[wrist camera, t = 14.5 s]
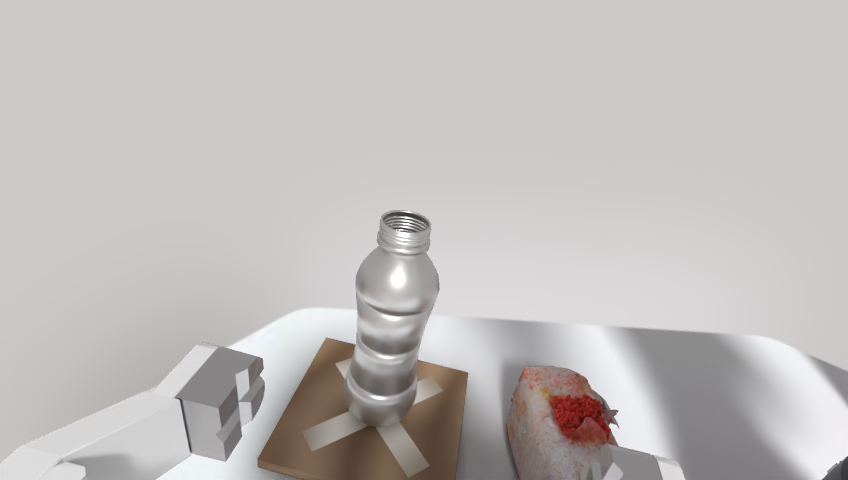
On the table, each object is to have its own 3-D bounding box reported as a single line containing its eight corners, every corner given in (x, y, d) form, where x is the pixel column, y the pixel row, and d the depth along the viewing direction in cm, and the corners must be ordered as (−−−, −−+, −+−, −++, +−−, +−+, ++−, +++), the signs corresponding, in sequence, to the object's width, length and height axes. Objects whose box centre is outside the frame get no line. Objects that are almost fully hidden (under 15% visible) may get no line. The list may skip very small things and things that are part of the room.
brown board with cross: (466, 379, 48) (468, 372, 47) (448, 519, 35) (451, 512, 34) (325, 344, 49) (326, 337, 49) (257, 466, 36) (257, 459, 35)
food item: (493, 415, 44) (518, 342, 39) (567, 419, 45) (601, 348, 40) (529, 572, 32) (571, 495, 28) (629, 572, 33) (687, 498, 29)
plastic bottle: (351, 375, 44) (369, 195, 35) (417, 387, 44) (453, 211, 35) (333, 429, 39) (348, 233, 29) (408, 444, 39) (449, 252, 29)
